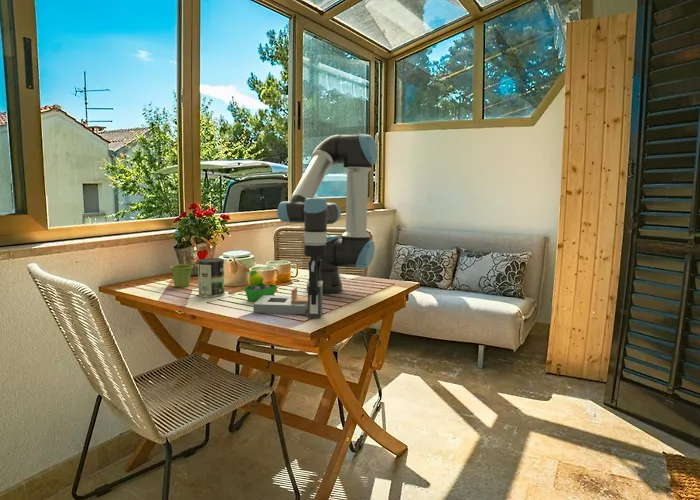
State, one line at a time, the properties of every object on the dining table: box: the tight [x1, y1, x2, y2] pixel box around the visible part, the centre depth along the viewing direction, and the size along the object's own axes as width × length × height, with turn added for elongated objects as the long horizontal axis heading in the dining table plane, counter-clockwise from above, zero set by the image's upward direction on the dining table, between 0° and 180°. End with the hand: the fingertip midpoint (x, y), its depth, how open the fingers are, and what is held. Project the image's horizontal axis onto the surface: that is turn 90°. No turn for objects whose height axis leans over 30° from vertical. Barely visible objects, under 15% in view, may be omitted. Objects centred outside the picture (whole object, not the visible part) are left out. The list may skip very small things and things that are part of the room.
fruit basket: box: [243, 269, 277, 303], centre depth 194 cm, size 11×9×11 cm
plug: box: [306, 281, 323, 319], centre depth 170 cm, size 5×5×12 cm
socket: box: [253, 294, 308, 315], centre depth 180 cm, size 14×18×3 cm
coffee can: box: [196, 257, 226, 298], centre depth 200 cm, size 10×10×14 cm
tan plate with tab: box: [291, 286, 308, 303], centre depth 179 cm, size 7×7×4 cm
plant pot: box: [169, 264, 194, 288], centre depth 215 cm, size 9×9×9 cm
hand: (315, 311), depth 171 cm, fingers closed on plug, 4 cm apart
